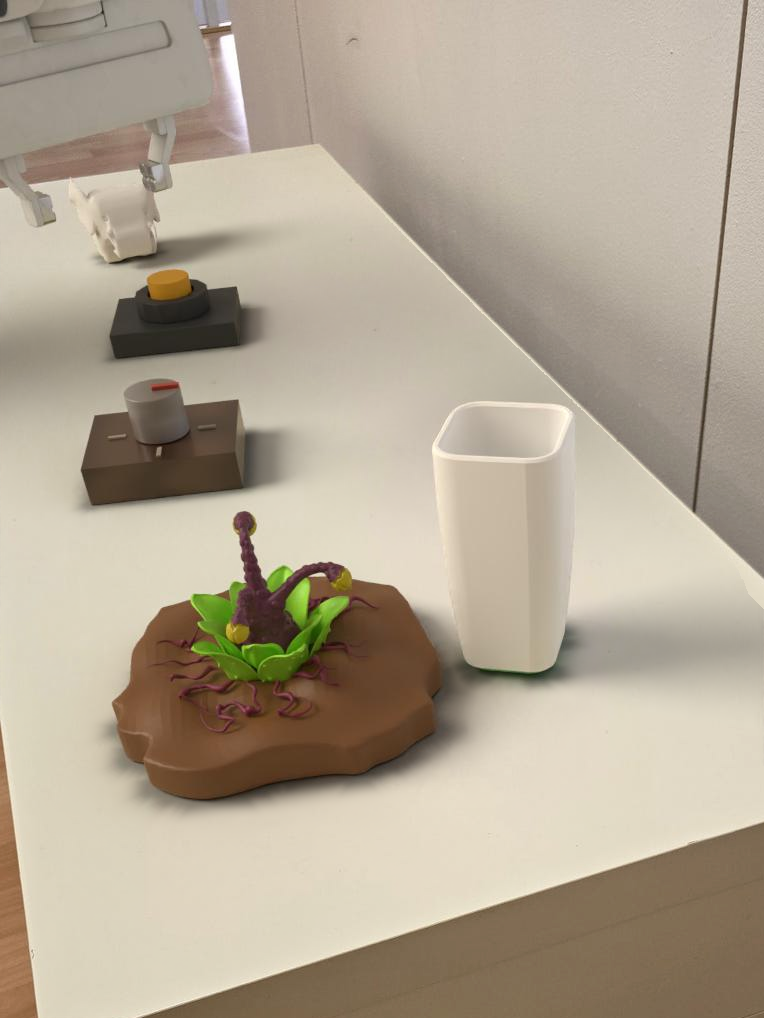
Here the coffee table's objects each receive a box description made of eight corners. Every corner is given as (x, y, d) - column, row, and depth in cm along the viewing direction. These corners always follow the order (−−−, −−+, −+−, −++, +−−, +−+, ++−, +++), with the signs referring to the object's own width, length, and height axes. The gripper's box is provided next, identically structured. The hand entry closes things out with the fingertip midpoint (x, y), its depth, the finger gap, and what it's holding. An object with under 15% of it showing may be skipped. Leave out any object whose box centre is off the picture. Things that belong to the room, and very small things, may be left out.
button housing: (115, 358, 118) (103, 316, 115) (124, 320, 125) (113, 280, 122) (239, 345, 118) (230, 302, 116) (241, 308, 125) (233, 267, 123)
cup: (581, 624, 80) (579, 403, 70) (561, 690, 75) (556, 462, 64) (473, 616, 81) (456, 399, 71) (446, 680, 76) (424, 456, 66)
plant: (417, 586, 84) (400, 431, 77) (463, 761, 70) (447, 593, 63) (127, 628, 83) (80, 474, 75) (114, 816, 69) (54, 650, 61)
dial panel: (91, 505, 96) (79, 467, 94) (104, 449, 103) (93, 413, 101) (243, 487, 97) (235, 450, 94) (245, 433, 104) (238, 397, 102)
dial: (132, 447, 96) (119, 400, 94) (137, 423, 99) (124, 377, 97) (188, 441, 96) (177, 394, 94) (191, 417, 100) (180, 371, 97)
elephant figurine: (101, 281, 134) (78, 193, 128) (79, 251, 142) (56, 167, 136) (185, 263, 137) (166, 176, 130) (159, 235, 145) (139, 151, 138)
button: (149, 304, 118) (144, 285, 116) (152, 290, 120) (148, 271, 119) (190, 300, 118) (186, 281, 117) (193, 285, 121) (189, 267, 119)
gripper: (156, -62, 83) (201, 163, 93) (-132, -8, 74) (-50, 235, 84) (206, -56, 80) (248, 177, 89) (-90, 1, 71) (-9, 254, 80)
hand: (102, 206), depth 86 cm, fingers open, 8 cm apart
